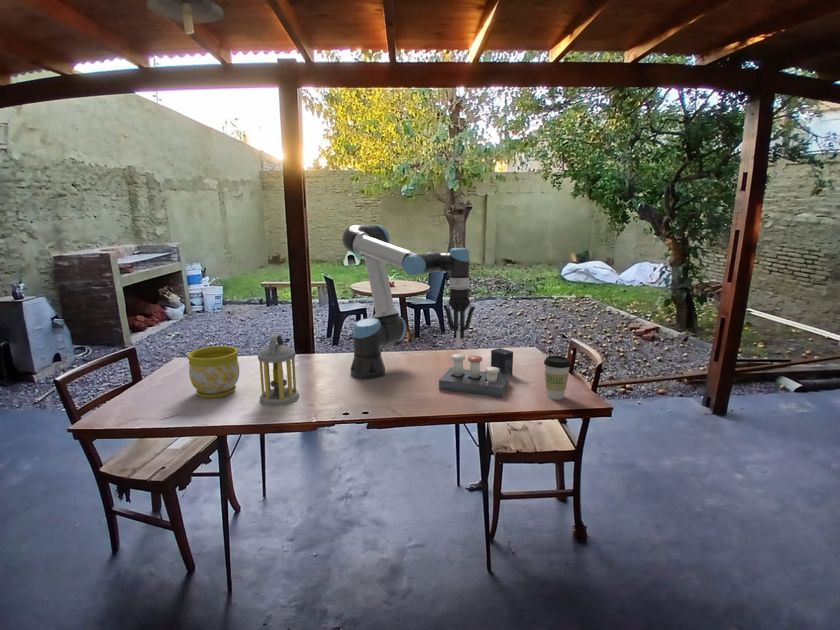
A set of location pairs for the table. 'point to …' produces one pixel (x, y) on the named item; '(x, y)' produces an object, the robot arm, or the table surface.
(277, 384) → the lantern
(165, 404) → the table surface
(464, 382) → the mount
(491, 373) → the knob
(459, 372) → the knob
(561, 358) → the coffee cup
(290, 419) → the table surface
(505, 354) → the box
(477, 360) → the knob mid
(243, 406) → the table surface
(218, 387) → the flowerpot
